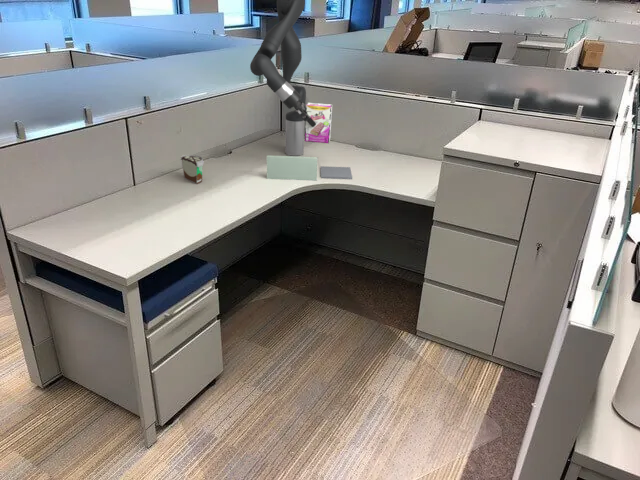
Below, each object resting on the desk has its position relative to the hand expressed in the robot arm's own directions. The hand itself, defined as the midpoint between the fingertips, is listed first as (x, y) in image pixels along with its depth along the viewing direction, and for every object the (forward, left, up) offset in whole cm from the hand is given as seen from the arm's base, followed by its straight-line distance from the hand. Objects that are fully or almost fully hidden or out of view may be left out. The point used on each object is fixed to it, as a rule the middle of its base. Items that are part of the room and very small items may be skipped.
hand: (314, 123), depth 221 cm
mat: (0, +11, -23) cm, 25 cm away
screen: (+9, -9, -23) cm, 26 cm away
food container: (+14, -50, -23) cm, 57 cm away
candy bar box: (0, +2, -8) cm, 8 cm away
